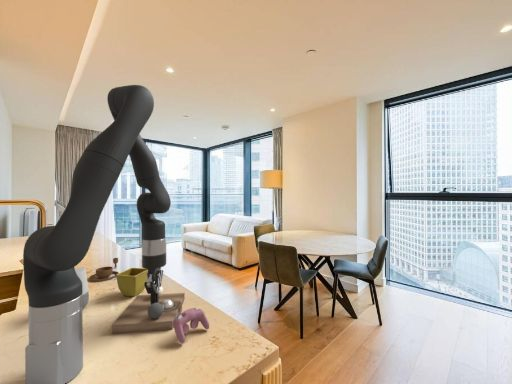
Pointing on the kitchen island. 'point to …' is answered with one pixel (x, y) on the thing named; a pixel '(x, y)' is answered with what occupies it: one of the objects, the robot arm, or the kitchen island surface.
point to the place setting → (105, 273)
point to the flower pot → (132, 281)
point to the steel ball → (167, 304)
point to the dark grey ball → (155, 310)
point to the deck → (138, 316)
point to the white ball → (160, 291)
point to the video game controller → (185, 317)
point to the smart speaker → (83, 284)
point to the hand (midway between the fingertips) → (154, 303)
